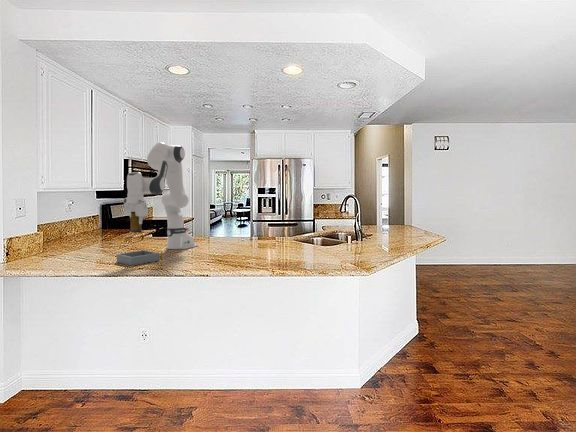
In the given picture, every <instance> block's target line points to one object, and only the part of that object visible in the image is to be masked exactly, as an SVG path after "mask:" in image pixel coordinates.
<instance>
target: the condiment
mask: <svg viewBox="0 0 576 432" xmlns="http://www.w3.org/2000/svg"><path fill="white" fill-rule="evenodd" d="M129 220H130V233H145V232H147V231H146V230H143V229H142V228H143V227H142V226H143V225H142V224H138V221H139V216H136V215H135V212H131V217H130V216H129Z"/></svg>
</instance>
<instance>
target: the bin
mask: <svg viewBox="0 0 576 432" xmlns="http://www.w3.org/2000/svg"><path fill="white" fill-rule="evenodd" d="M155 261H157V262H160V252H155V251H149V250H146V249H143V250H135V251H130V252H123V253H117V254H116V263H117V262H118V263H119V264H123V265H126V264H127V266H130V265H131V267H133V265H134V266H139V265H138V264H140V265H143V264H142V263H145V264H149V263H148V262H151V263H155Z"/></svg>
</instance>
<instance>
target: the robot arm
mask: <svg viewBox="0 0 576 432" xmlns="http://www.w3.org/2000/svg"><path fill="white" fill-rule="evenodd" d="M185 154H186V153H185V149H184V147H183V146H181V145H178V144H176V145H174V144H166V143H164V142H161V141H160V142H156V143H154V145H153V146H152V148H151V150H150V151H149V153H148V154H147V157H146V162H147V165H148V166H149V167H151V169H153V170H155V171H157V175H156V176H155V177H145V176H143V175H142V173H141V172H140V171H133V172H128V173H127V176H126V188H127V194H126V196H127V197H125V198H124V199H123V212H124V215H125V216H129V218H130V217H131V212H135V215H136V216H139V221H138V224H141V225H142V224H143V221H144V218H145V217H148V216H149V207H148V204H147V202H146V201H145V200H144V195H160V194H162V193H163V192H164V190H165V186H166V185H167V187H168V192H166V193H164V194H163V195H162V196H161V203H162V205H163V206H164V210H165V213H166V220H167V228H166V235H167V238H166V239H167V240H166V247H165V249H166V250H167V249H168V250H186V249H191V248H194V247H198V246H199V245H198V243H196V242H195V238H194V237H193V236H192V235H190V234H189V233H188V231H189V230H190V229H189V227H185V224H184V223H185V222H184V221H185V220H184V219H185V218H184V215H183V213H182V211H181V209H182V208H185V207H187V206H188V204H189V197H188V195H187V194H186V191H185V187H184V183H183V180H184V179H183V164H182V161H183V160H184V158H185V156H186V155H185ZM165 183H166V185H165Z"/></svg>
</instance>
